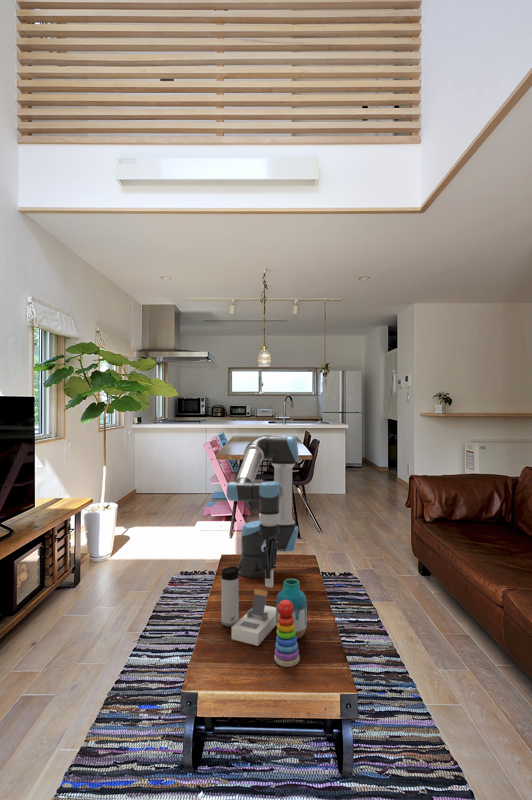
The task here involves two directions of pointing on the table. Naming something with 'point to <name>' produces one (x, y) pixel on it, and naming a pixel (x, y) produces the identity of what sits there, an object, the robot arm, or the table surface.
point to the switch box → (254, 626)
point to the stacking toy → (286, 636)
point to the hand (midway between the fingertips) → (269, 586)
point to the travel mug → (229, 596)
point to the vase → (294, 605)
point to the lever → (259, 603)
